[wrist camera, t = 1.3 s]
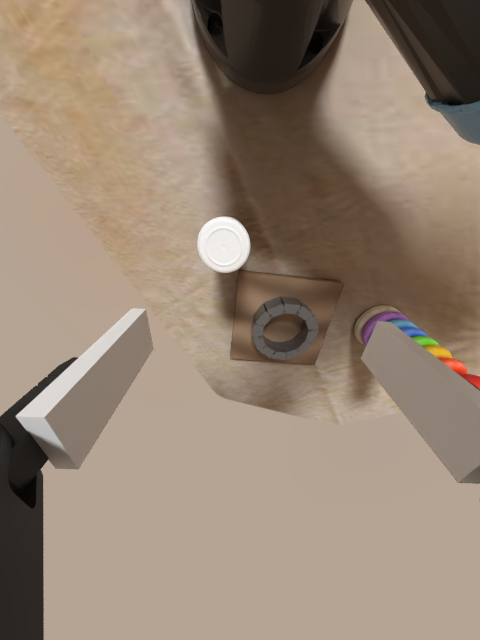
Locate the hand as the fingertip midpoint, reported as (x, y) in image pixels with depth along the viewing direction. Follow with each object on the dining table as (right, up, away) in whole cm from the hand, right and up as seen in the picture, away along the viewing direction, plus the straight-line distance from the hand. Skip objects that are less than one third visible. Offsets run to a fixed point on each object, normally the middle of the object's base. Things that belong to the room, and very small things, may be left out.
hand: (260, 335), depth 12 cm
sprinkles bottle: (-3, +13, +17) cm, 22 cm away
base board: (+6, +1, +23) cm, 24 cm away
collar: (+6, 0, +22) cm, 23 cm away
